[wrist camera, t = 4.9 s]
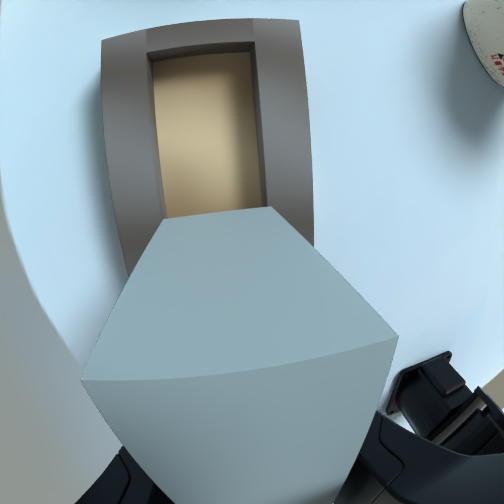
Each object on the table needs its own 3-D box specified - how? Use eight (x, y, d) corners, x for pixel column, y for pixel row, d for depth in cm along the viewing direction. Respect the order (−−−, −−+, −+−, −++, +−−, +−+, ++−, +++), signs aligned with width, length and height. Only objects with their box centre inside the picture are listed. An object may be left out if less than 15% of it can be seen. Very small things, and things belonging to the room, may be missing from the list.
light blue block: (279, 413, 11) (315, 531, 6) (212, 423, 11) (224, 545, 5) (271, 206, 8) (398, 336, 2) (163, 219, 8) (79, 380, 2)
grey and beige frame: (301, 365, 19) (312, 390, 16) (171, 383, 18) (169, 410, 15) (289, 38, 11) (305, 21, 9) (112, 56, 10) (95, 42, 8)
